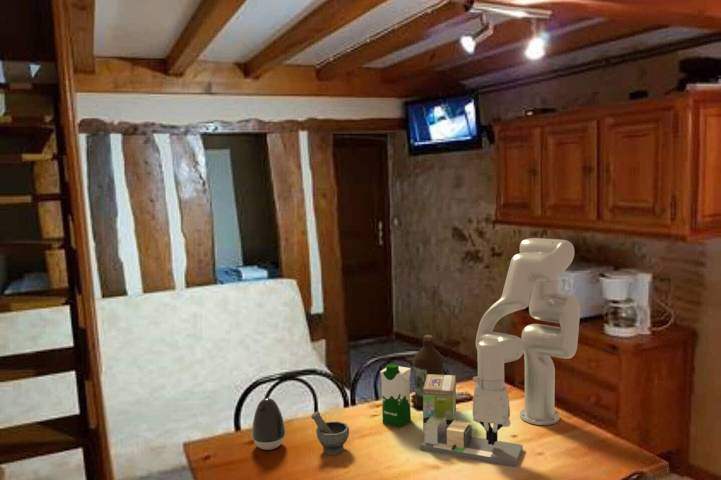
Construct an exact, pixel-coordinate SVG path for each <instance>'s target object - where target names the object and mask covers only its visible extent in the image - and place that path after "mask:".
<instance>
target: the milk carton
mask: <svg viewBox="0 0 721 480" xmlns="http://www.w3.org/2000/svg"><path fill="white" fill-rule="evenodd" d="M411 372H412V369H411V367H406V366H400V365H399V364H397V363H388V364H386V366H385V368H383V369H382V370H380V371H379V375H380V379H381V404H382V406H381V407H382V408H381V410H382V424H384V425H388V426H392V427H396V428H400V429H401V428H403V427H404V426H405V425H407V424H408V423H409V422H410V421H411V420H412V416H411V415H412V414H411V391H410V390H411V389H410V388H411V387H410V386H411V384H410V380H411Z"/></svg>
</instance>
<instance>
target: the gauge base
mask: <svg viewBox="0 0 721 480" xmlns="http://www.w3.org/2000/svg"><path fill="white" fill-rule="evenodd" d="M523 447H524V445H523V444H519V443H513V442H507V441H501V440H497V442H495V444H494V445H492V444H490V445H489V444H488V440H486V438H481V437H477V436H476V437H475V436H472V439H471V440H470V442H469V444H468V445H467V447H466V446H465V447H464V448H458V447H455V449H454V450H452V446H447V434H446V435H445V437H444V438H443V439H442V441H441V442H440V443H439V445H438V446H435V445H434V446H433V445H428V444H425V439H424V440H423V441H422V442H421V444H420V451H426V452H431V453H437V454H443V455H449V456H452V457H453V456H454V457H460V458H466V459H469V460H477V461H481V462H486V463H491V464H492V463H493V464H497V465H504V466H509V467H510V466H511V467H514V468H515V467H517V464H518V462H519V460H520V457H521V455H522V453H523V450H524V449H523Z"/></svg>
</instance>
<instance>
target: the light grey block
mask: <svg viewBox="0 0 721 480" xmlns="http://www.w3.org/2000/svg"><path fill="white" fill-rule="evenodd" d="M423 434H424V440H425V444H428V445H433V446H434V445H435V446H438V445H439V443H440V442H441V441H442V439H443V438H444V437H445V435H446V434H447V431H446V415H441V414H433V415H432V416H431V417H430V419H429V420H428V421H427V422H426V423H425V425H424V433H423Z"/></svg>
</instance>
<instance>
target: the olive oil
mask: <svg viewBox="0 0 721 480" xmlns="http://www.w3.org/2000/svg"><path fill="white" fill-rule="evenodd" d="M422 338H423V340H422V342H423V343H422V345H423V346H422V347H421V348H420V349H419V350H418V351H417V352H416V354H415V355H414V357H413V360H412V361H413V362H412V363H413V364H412V368H413V377H414V378H413V379H414V393H415V405H416V404H417V405H419V406H421V407H423V388H424V384H425V381H426V377H427V374H434V375H444V359H443V357H442V355H441V353H440V352H439V351H438V350H437V349H436V348H435V347H434V346H433V345H434V343H433V336H432V335H431V334H425V335H423V337H422ZM417 405H416V406H417Z"/></svg>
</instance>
